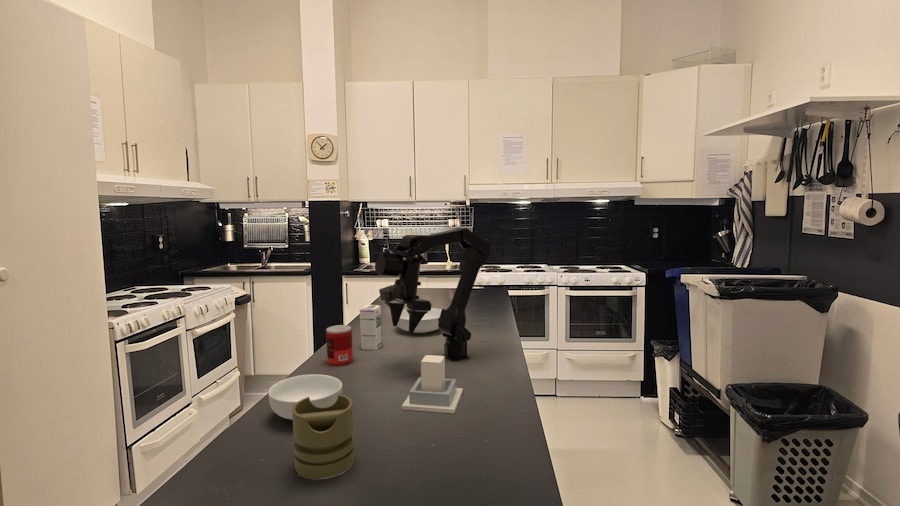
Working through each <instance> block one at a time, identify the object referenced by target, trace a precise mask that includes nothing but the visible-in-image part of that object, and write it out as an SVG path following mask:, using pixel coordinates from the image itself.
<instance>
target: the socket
mask: <svg viewBox="0 0 900 506" xmlns="http://www.w3.org/2000/svg"><path fill="white" fill-rule="evenodd" d="M408 393H409V394H408V396H407V397H406V399H405V401H404V402H403V403H402V405H401V410H403V411H416V412H430V413H443V414H455V413H456V411H457V408H458V405H459V403H460V400H461V399H462V396H463V393H464V388H462V387H460V388H459V387H457V379H456V378H445V393H443V392H428V391H421V376H419V377H418V378H417V380H416V381H415V382H414V384H413V385H412V387H411V389H410V390H409V392H408Z"/></svg>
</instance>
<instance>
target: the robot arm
mask: <svg viewBox="0 0 900 506" xmlns="http://www.w3.org/2000/svg"><path fill="white" fill-rule="evenodd" d="M455 243H458V244H459V245H460V247H461V248H462V249H463V250H464V251H463V258H464V265H463V269H462V272H461V275H460V278H459V281H458V283H457V285H456V289H455V292H454V295H453V297H452V300H451V303H450V305H449V306H448V307H447V308H446V309H445V308H442V309H441V310H442V311H441V314H440V317H439V319H438V321H439V323H438V327H439V331H440V332H441V334H442V337H443V338H445V343H443V344H444V347H443V350H444V353H443V356H445V358H447V359H448V360H450V361H452V362H453V361H460V360H466V359H470V355H468V341H470V340H471V338H472V337H471V336H472V333H471V331H470V330H469V329H467V327H466V322H467V317H466V309H467V305H468V302H469V299H470V297H471V295H472V292H473V289H474V286H475V284H476V283H475V282H476V280H477V278H478V274H479V271H480V269H481V268H482V267H483V266H484V265H485V264H486V263H487V262H488V260H489V258H490V256H491V254H492V247H491V245H490V243H489V242H488V241H486V240H484V239H482V238H481V237H480V236H478V235H476V234H475V233H473V232H472V231H471V230H470V229H469V228H466V227H457V228H454V229H450V230H449V229H447V230H444V231H440V232H435V233H430V234H405V235H403V236H402V238H401V239H400V242H399V244H398V245H397V246H396V248H395V249H394V250H393V251H392V252H388V251H380V252H379V254H380V255H378V257H377V259H376V261H375V263H374V268H375V271H374V272H375V273H376V275H378V276H385V277H398V276H399V277H398V278H396V279H395V281H394V284H391V285H387V286H385V287H382V288H379V295H380V300H381V301H383V302H384V304H386V306H387V307H388V308H389V311H390V316H391V322H392V326H393V327H398V326H397V324H398V322H399V319H400V316H401V314H402V311H403V309H406V311H407V312H408V314H409V331H408V333H409V334H414V333H413V332H414V330H415V328H416V327H417V325H418V324H419V322H420V321H421V319H422V318H423V316H424V315H425V314H426V313H428V311H431V308H432V303H431V301H430V300H427V299H423V298H420V295H418V287H419V286H421V285H422V282H421V281H419V278H420V271H421V270H420V269H421V264H427V263H428V261H427V260H426V259H425V258H424V255H423V254H426V253H427V252H429V251H431V250H432V249H434V248H436V247H437V248H438V247H441V246H447V245H450V244H455ZM404 258H405V259H404ZM405 305H406V307H407V308H405Z"/></svg>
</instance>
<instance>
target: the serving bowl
mask: <svg viewBox="0 0 900 506" xmlns="http://www.w3.org/2000/svg"><path fill="white" fill-rule="evenodd" d="M406 309H407V308H403V311H402V314H401V316H400V319H399V322H398V324H397V326H396V327H398V328H399V329H401V330H403V331H405V332H409V314H408V312H407V311H406ZM441 311H442V309H441V308H435V307H434V308H433V307H431V311H428V313H426V314H425V315H424V316H423V318H422V319H421V321H420V322H419V324H418V325H417V327H416V328H415V330H414V332H413V333H412V334H427V333H431V332H434V331H437V330H438V329H439V327H438V323H439V321H438V319H439V317H440V314H441Z"/></svg>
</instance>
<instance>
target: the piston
mask: <svg viewBox="0 0 900 506" xmlns="http://www.w3.org/2000/svg"><path fill="white" fill-rule="evenodd" d="M353 403H354V402H353V399H351V398H350V397H349V396H347V395H344V394H342V395H341V394H338V398H337V400H336V402H335V403H334V404H332V405H330V406H328V407H318V406H315V405H314V404H312V402H311V401H310V398H309V397H307V398H304V399H302V400H300V401H298V402H297V403H296V404H295V405H294V406H293V408H292V416H293V420H292V431H293V432H292V434H293V436H292V437H293V441H294V443H293V452H294V470H296V471H295V473H296V472H297V473H298V474H299V475H300V476H302V477H305V478H311V479H312V478H313V479H319V478H324V477H330V476H334V475H337V474H339V473H342V472H344V471H345V470H347V469H348V468H349V467H350V466H351V465H352V464H353V462H354V459H355V439H354V438H355V436H354V408H353V405H354V404H353ZM354 463H355V462H354ZM297 473H296V474H297ZM298 474H297V475H298ZM299 475H298V476H299ZM300 476H299V477H300ZM302 477H301V478H302Z"/></svg>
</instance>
